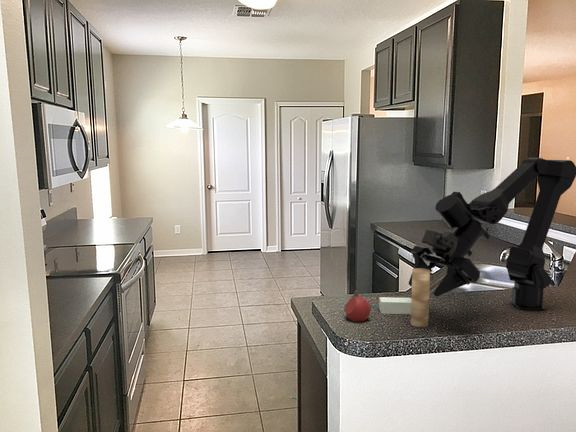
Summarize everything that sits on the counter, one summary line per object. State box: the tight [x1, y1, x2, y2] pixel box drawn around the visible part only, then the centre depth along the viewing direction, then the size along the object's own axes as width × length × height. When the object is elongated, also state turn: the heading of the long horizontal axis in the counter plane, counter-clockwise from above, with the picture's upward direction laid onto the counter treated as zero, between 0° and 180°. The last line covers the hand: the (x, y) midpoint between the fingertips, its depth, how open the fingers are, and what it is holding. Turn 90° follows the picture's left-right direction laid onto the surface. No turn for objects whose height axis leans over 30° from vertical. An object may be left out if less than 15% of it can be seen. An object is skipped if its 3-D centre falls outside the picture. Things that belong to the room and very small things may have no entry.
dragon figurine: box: [344, 290, 379, 308], centre depth 126 cm, size 6×7×8 cm
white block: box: [378, 296, 411, 315], centre depth 124 cm, size 8×4×3 cm, turn 87°
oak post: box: [410, 268, 431, 328], centre depth 115 cm, size 4×4×13 cm
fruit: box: [344, 296, 379, 323], centre depth 119 cm, size 6×6×8 cm
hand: (421, 290), depth 114 cm, fingers open, 9 cm apart
